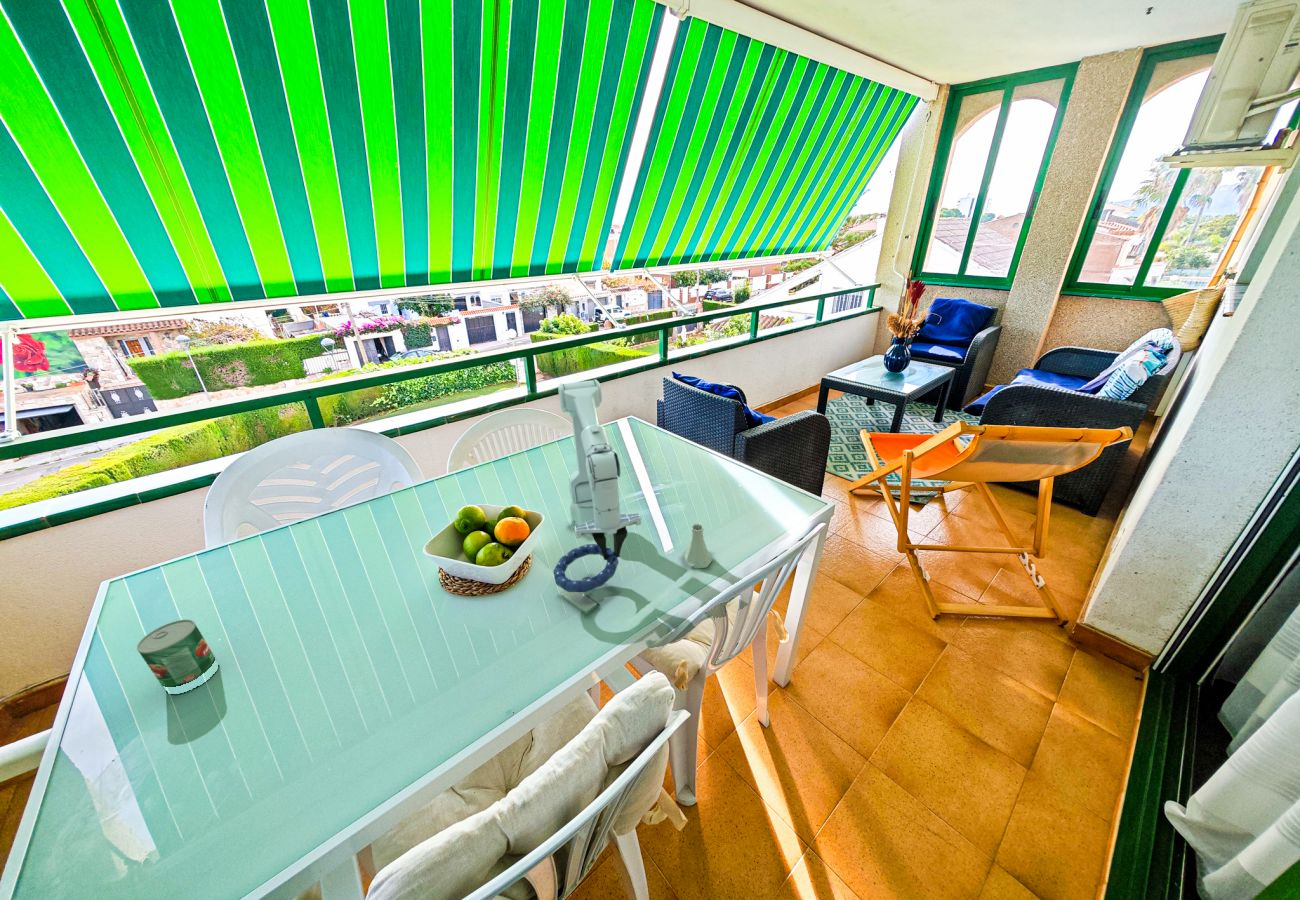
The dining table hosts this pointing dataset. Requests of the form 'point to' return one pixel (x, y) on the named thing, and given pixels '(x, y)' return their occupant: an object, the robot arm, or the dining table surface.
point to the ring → (591, 582)
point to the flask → (697, 548)
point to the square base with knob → (581, 599)
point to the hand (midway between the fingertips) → (610, 556)
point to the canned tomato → (176, 653)
